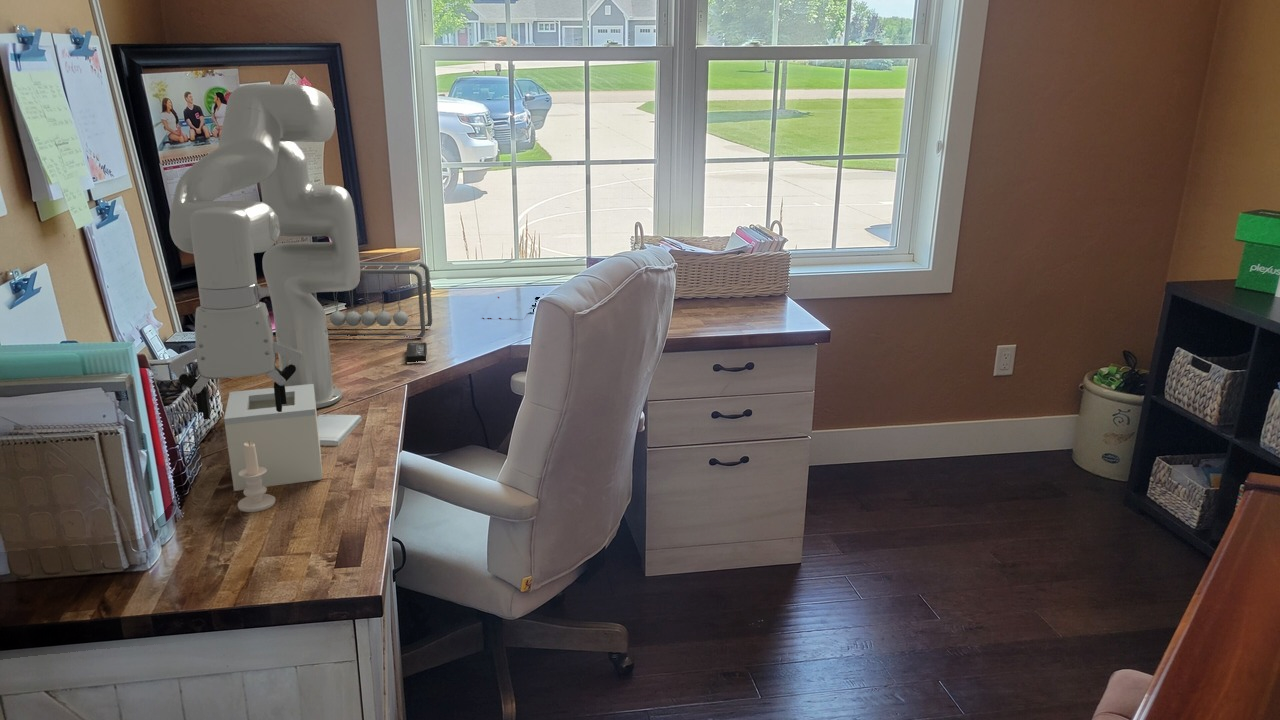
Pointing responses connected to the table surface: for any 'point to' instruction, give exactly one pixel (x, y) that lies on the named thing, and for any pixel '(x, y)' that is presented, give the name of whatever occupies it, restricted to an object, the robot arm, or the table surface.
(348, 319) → the newton's cradle
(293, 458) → the drop box
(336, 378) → the table surface
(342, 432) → the hard drive
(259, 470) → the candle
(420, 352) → the multiport hub
